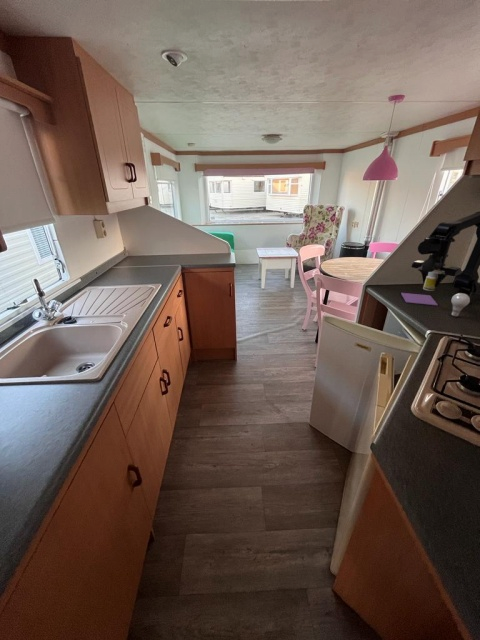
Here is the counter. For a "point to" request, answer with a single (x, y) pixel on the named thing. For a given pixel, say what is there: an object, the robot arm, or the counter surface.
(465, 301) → the lightbulb
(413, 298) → the cloth
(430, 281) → the supplement bottle
